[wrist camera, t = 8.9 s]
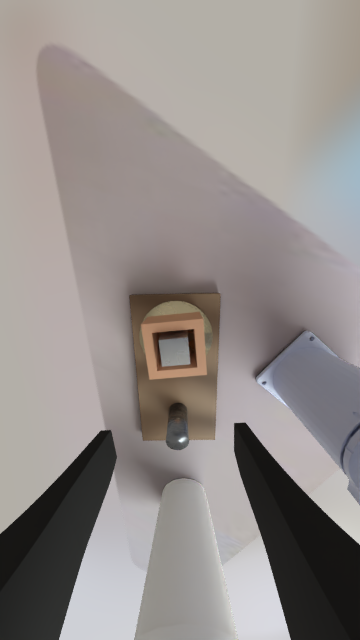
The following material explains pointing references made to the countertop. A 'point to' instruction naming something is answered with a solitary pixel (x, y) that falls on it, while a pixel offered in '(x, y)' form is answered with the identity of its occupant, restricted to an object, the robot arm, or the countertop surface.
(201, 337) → the collar
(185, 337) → the hub
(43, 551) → the robot arm
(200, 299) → the jig board
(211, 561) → the foam cup
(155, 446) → the countertop surface
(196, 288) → the countertop surface
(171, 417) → the stand rod
